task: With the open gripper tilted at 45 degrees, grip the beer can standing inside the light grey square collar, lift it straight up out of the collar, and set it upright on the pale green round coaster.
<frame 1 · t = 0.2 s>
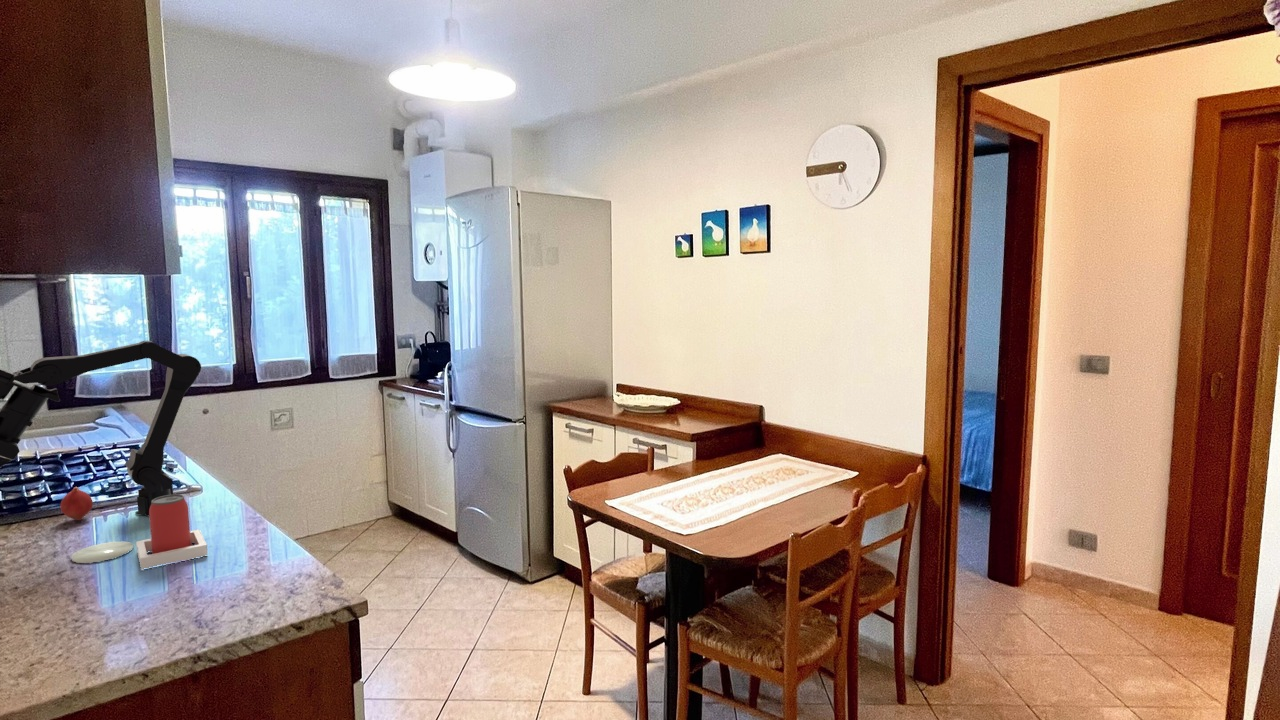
onion: (78, 520, 158), on the table
collar: (172, 554, 138), on the table
beer can: (172, 555, 139), resting in collar
coaster: (103, 553, 139), on the table
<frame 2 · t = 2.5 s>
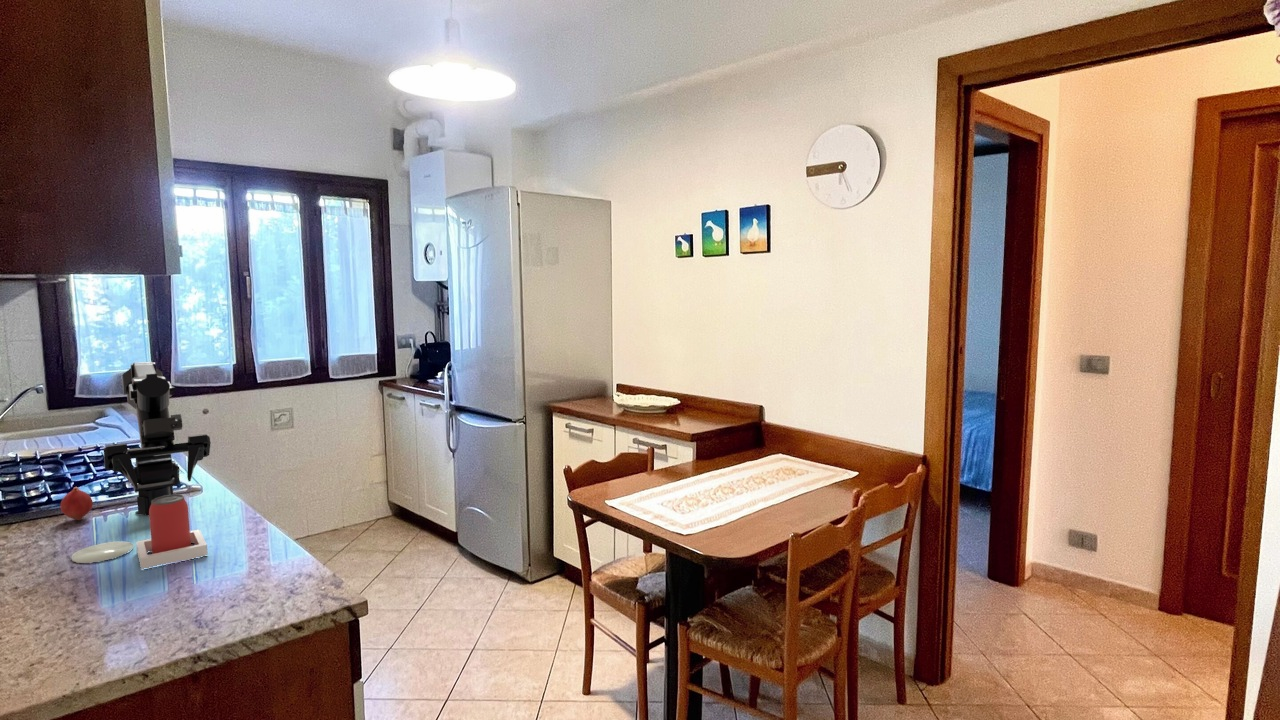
hand: (163, 484, 143), 13 cm above the table, tool tilted 45°, fingers open, 9 cm apart
nothing on the table moved.
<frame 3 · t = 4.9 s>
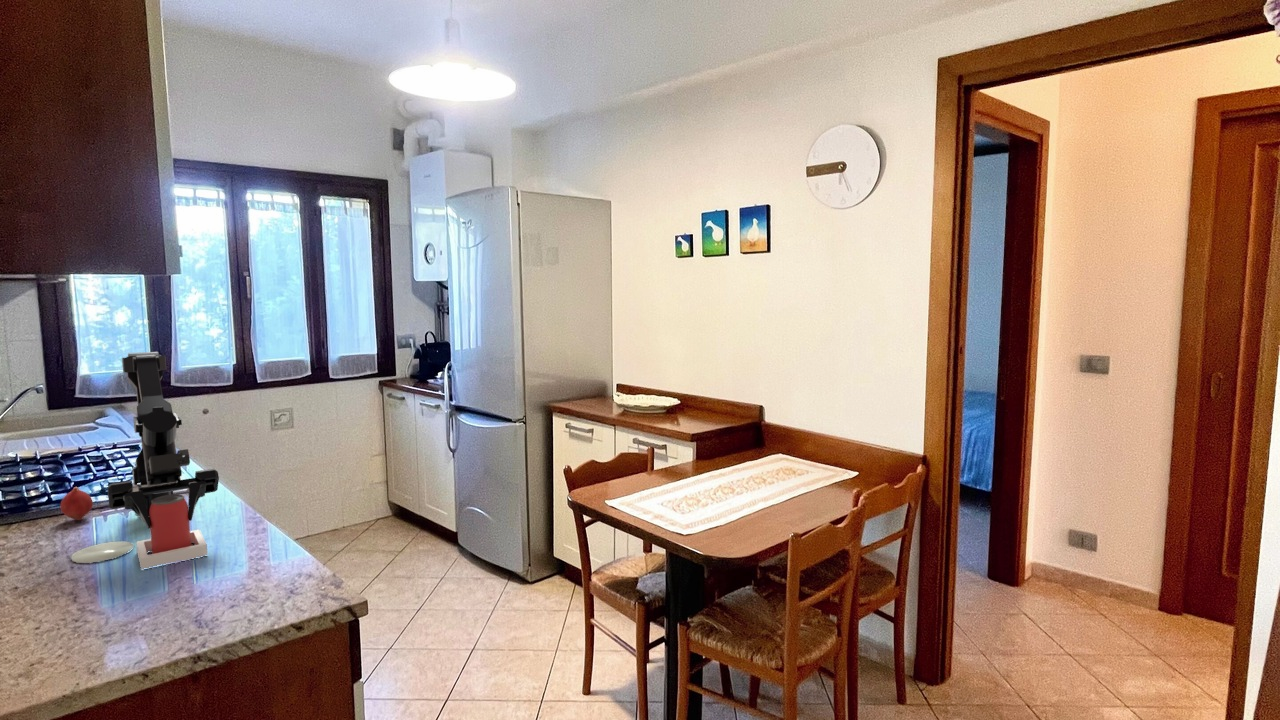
hand: (170, 523, 137), 7 cm above the table, tool tilted 45°, fingers closed on beer can, 6 cm apart
beer can: (172, 555, 139), resting in collar, touching gripper
everything else where it was.
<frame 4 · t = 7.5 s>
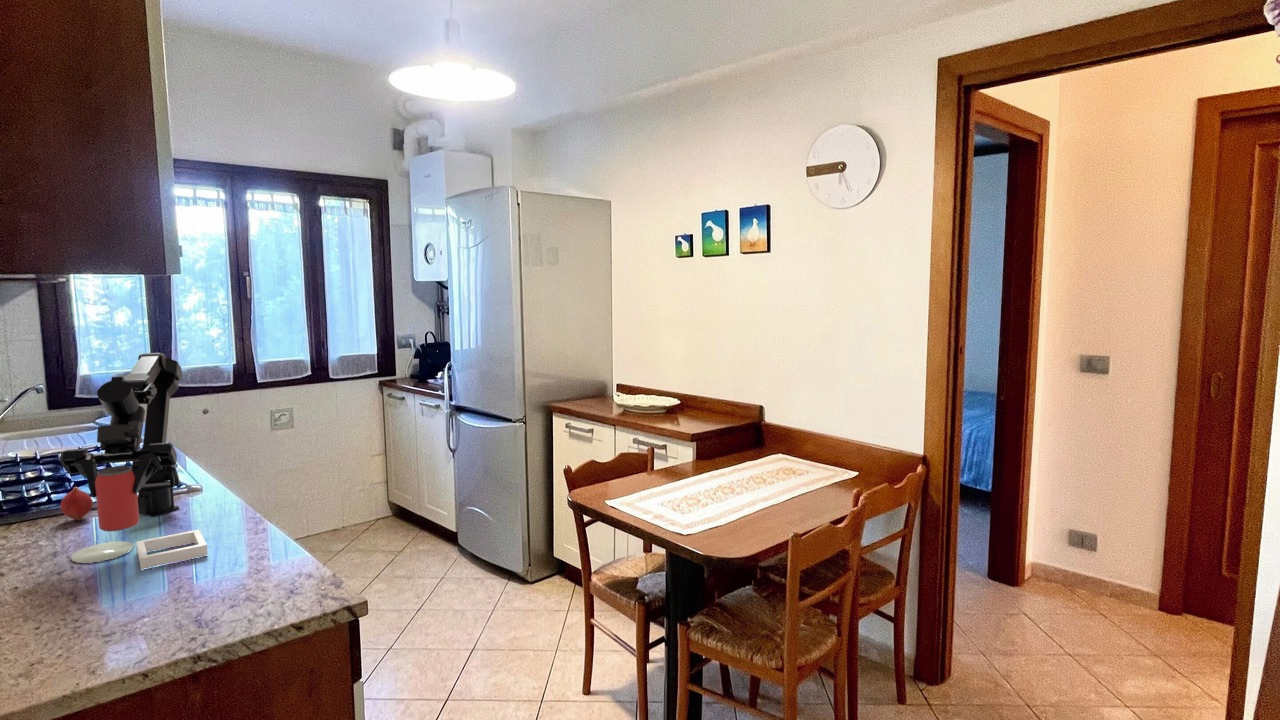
hand: (114, 494, 135), 13 cm above the table, tool tilted 45°, fingers closed on beer can, 6 cm apart
beer can: (119, 527, 138), point 6 cm above the table, touching gripper
everything else where it was.
when the fingers open (8 cm above the table, at t = 10.0 s): beer can stays where it is, resting on coaster.
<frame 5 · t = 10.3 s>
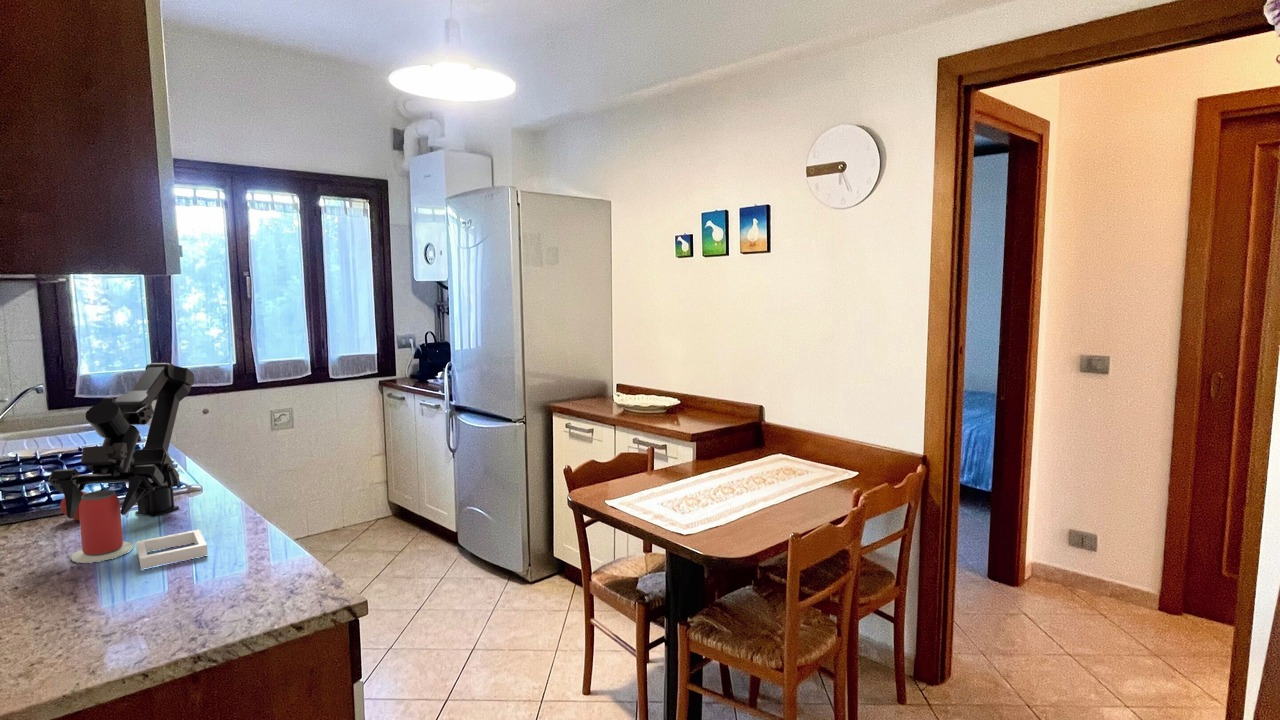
hand: (96, 515, 137), 9 cm above the table, tool tilted 45°, fingers open, 9 cm apart
beer can: (103, 551, 139), resting on coaster
everything else where it was.
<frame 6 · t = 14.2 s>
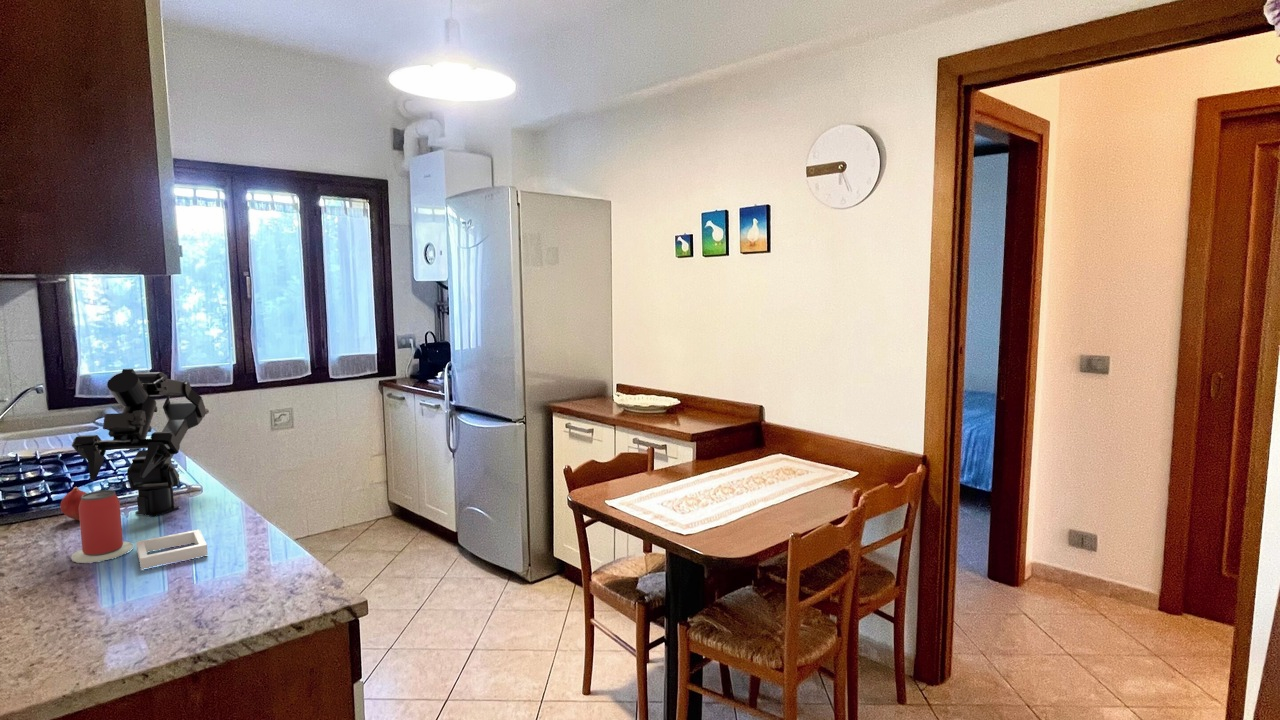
hand: (117, 478, 145), 14 cm above the table, tool tilted 45°, fingers open, 9 cm apart
nothing on the table moved.
at the end: beer can 0.1 cm off-centre on the coaster, point 0.4 cm above the coaster's base; beer can tilted 0°; the gripper is holding nothing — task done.
